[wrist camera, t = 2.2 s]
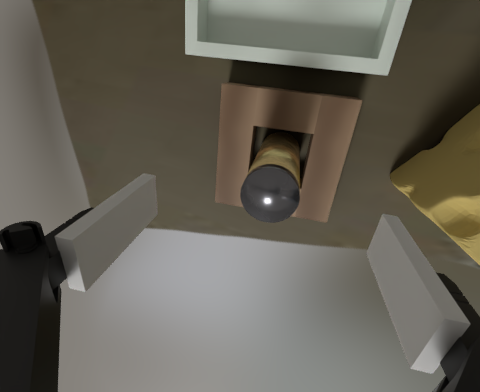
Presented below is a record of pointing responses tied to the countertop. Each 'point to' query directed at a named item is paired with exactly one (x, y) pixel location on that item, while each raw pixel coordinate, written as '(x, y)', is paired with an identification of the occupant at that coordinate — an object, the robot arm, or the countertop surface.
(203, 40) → the tray
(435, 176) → the cheese
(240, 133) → the pin block
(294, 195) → the brown and black cylinder
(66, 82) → the countertop surface
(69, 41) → the countertop surface
